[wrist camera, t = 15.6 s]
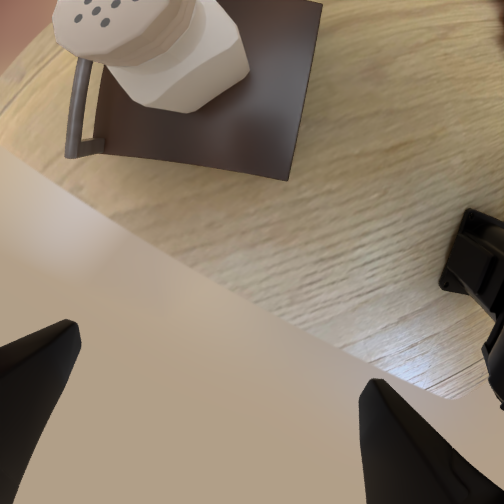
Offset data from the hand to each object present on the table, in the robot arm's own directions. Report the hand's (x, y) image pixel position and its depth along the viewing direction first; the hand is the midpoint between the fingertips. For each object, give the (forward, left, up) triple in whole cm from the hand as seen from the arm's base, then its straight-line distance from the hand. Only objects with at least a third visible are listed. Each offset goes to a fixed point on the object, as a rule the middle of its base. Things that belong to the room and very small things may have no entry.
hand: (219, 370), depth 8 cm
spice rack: (+4, -9, -12) cm, 16 cm away
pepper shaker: (+4, -9, -9) cm, 13 cm away
